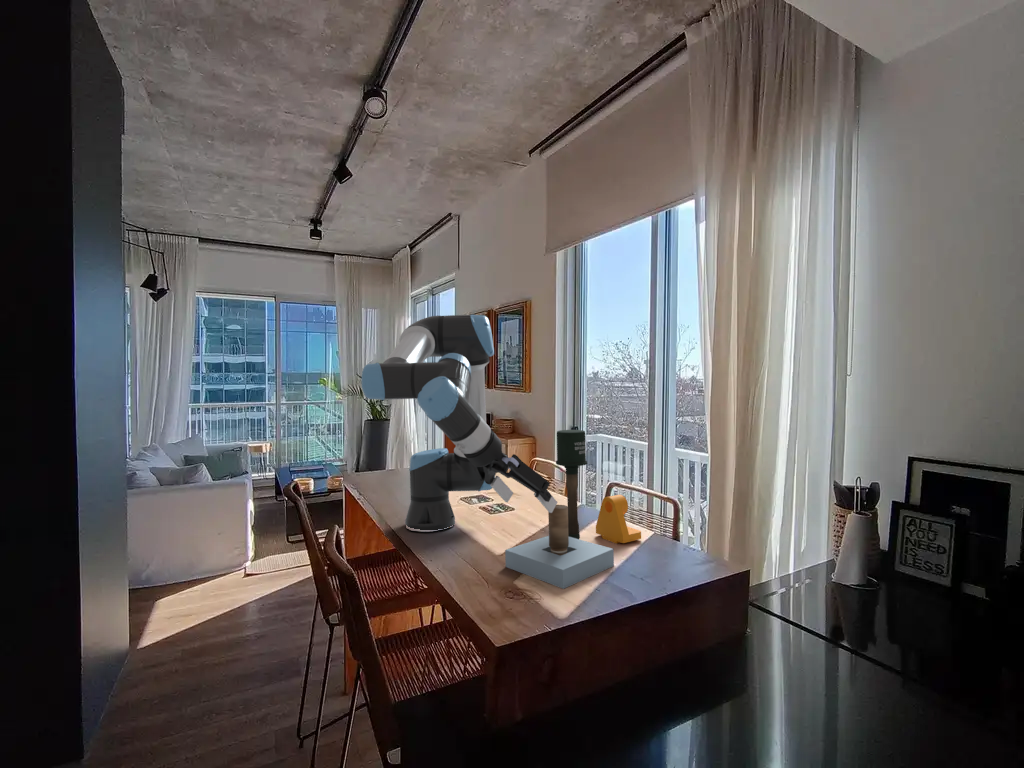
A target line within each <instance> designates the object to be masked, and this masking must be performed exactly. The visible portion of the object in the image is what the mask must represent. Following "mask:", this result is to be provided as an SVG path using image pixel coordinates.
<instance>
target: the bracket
mask: <svg viewBox="0 0 1024 768" xmlns="http://www.w3.org/2000/svg"><path fill="white" fill-rule="evenodd" d="M628 509H629V504H628V499H626V497H625V496H624V495H622V494H616V495H610V496H605V497H603V499H602V501H601V504H600V509H599V513H598V516H597V520H596V525H595V534H597V535H600V536H601V539H603V540H606V541H608V542H612V543H614V544H617V545H618V544H620V543H622V544H626V543H630V542H634V541H637V540H642V531H641V530H639V529H636V528H633V527H630V526H628V525H627V522H626V518H625V514H627V512H628Z"/></svg>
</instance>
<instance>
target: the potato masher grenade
mask: <svg viewBox="0 0 1024 768" xmlns="http://www.w3.org/2000/svg"><path fill="white" fill-rule="evenodd" d="M586 445H587V444H586V431H585V430H582V429H561V430H557V431H556V459H557V460H555V464H556V465H557V466H561V467H564V468H565V482H566V483H565V485H566V491H567V493H566V494H567V495H566V496H567V499H566V500H567V501H566V502H567V507H568V536H569V537H572V538H576V539H579V540H580V538H581V535H580V534H581V533H580V524H579V519H578V516H579V515H578V513H579V511H578V485H579V484H578V483H579V481H578V480H579V479H578V478H579V477H578V476H579V475H578V473H579V468H580V467H581V466H586V465H588V461H587V452H586V451H587V450H586Z"/></svg>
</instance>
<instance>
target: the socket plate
mask: <svg viewBox="0 0 1024 768" xmlns="http://www.w3.org/2000/svg"><path fill="white" fill-rule="evenodd" d="M568 537H569V536H568ZM504 553H505V568H508V569H510V570H512V571H513V570H514V571H516V572H519V573H521V574H524V575H525V576H528V577H532V578H534V579H537V580H540V581H543V582H545V583H547V584H550V585H552V586H555V587H558V588H560V589H563V590H565V589H566V588H568V587H570V586H572V585H575V584H577V583H579V582H582V581H584V580H586V579H589V578H590V577H592V576H596V575H597V574H599V573H601V572H603V571H606V570H608V569H611V568H612V567H614V566H615V554H614V548H611V547H608V546H604V545H600V544H597V543H593V542H589V541H587V540H582V539H580V538H579V539H576V538H572V537H569V546H568V547H567V553H566V554H564V555H561V556H560V555H557V554H554V553H551V547H550V546H549V535H547V536H544V537H543V536H542V537H540V538H537V539H535V540H531V541H527V542H525V543H522V544H519V545H516V546H513V547H510V548H508V549H505V551H504Z"/></svg>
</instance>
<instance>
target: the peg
mask: <svg viewBox="0 0 1024 768" xmlns="http://www.w3.org/2000/svg"><path fill="white" fill-rule="evenodd" d="M547 512H548V511H547ZM548 536H549V546H550V547H551V553H554V554H557V555H560V556H561V555H564V554H566V553H567V547H568V546H569V537H568V505H564V504H556V506H555V508H554V510H553V512H552V513H549V512H548Z"/></svg>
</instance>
